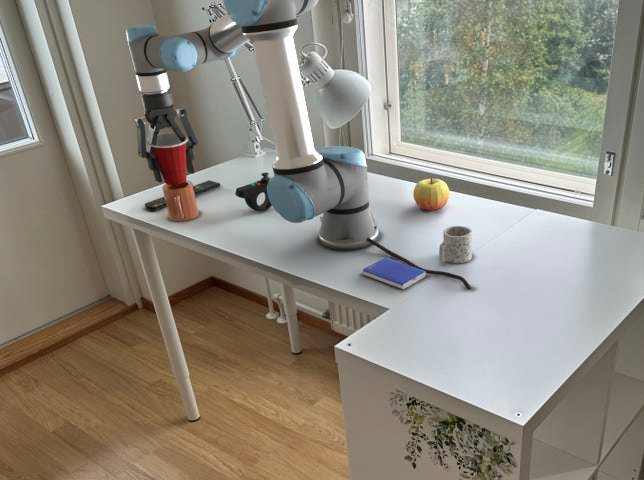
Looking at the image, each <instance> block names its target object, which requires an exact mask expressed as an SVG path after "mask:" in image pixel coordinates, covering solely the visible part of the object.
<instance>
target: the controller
mask: <svg viewBox="0 0 644 480" xmlns="http://www.w3.org/2000/svg"><path fill="white" fill-rule="evenodd" d="M260 175H261V179H259V180H257V181H253V182H252V183H248V184H246V185H243V186H240V187H236V189H235V193H234V194H235V196H236V197H238V198H241V199H244V202H245V204H246V205H247V207H249V208H250V209H251V210H254V211H256V212H266V211H267V210H269V209H270V208H272V207H273V206H272V205H271V203H270V200H269V198H268V194H267V185H268V182H269V180H270V179H271V178H272V177H269V175H270V174H269V172H262V173H261V174H260ZM262 193H263V194H264V200H263V202H262V203H261V204H258V197H259V196H260V195H261V194H262Z"/></svg>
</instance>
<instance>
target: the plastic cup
mask: <svg viewBox="0 0 644 480" xmlns="http://www.w3.org/2000/svg"><path fill="white" fill-rule="evenodd" d="M185 136H186V138H185V139H186V140H185V141H184V142H181V141H180V139H179V138H178V137H177V135H176V134H175V133H174V132H163V133H162V132H161V133H158V136H157V141H156V145H151V144H149V143H148V137H146V146H147V145H149V146H151V147H152V148H153V149H154V156H153V157H155V158H157V161H158V166H159V170H160V174H161V178H162V180H163V182H164V184H168V185H177V184H181V183H184V182H185V181H186V180H187V178H188V177H187V167H186V142H187V141H188V140H189V138H188V136H187V135H185Z"/></svg>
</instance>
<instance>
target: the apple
mask: <svg viewBox="0 0 644 480" xmlns="http://www.w3.org/2000/svg"><path fill="white" fill-rule="evenodd" d="M449 199H450V188H449V187H448V185H447V183H446V182H445V181H444V180H441V179H438V178H432V177H431V178H427V179H426V178H425V179H422V180H420V181H418V182H416V184H415V186H414V189H413V200H414V202H415V204H416V205H417V206H418V207H419V208H421V209H424V210H426V211H435V210H439V209H441V208H443V207H444V206H446V204H447V203H448V201H449Z"/></svg>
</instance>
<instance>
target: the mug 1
mask: <svg viewBox="0 0 644 480" xmlns="http://www.w3.org/2000/svg"><path fill="white" fill-rule="evenodd" d="M193 186H194V184H193V182H192V181H190V180H187V179H186V181H185V182H184V183H181V184H177V185H168V184H166V183H164V184H163V185H162V186H161V188H162V195H163V197H164V198H165V202H166V206H165V207H166V209H167V210H166V211H167V214H168V216H169V219H170V220H171V221H173V222H188V221H191V220H193V219H196V218H197V217H199V208H198V202H197V198H196V195H195V193H194V189H193Z"/></svg>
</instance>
